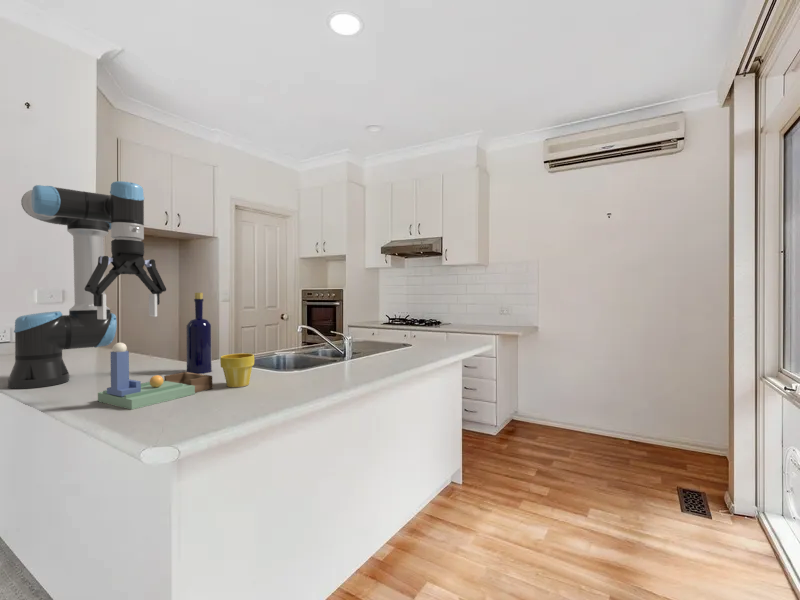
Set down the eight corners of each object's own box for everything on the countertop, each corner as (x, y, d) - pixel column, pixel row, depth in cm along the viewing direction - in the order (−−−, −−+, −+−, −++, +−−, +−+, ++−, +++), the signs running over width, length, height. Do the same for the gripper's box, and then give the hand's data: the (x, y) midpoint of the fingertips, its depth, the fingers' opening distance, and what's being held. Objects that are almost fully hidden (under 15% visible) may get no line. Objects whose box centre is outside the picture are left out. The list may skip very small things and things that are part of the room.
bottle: (205, 374, 151) (204, 292, 150) (180, 374, 151) (180, 292, 151) (217, 369, 160) (216, 292, 160) (193, 369, 160) (193, 292, 160)
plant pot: (213, 386, 131) (213, 356, 131) (239, 380, 140) (239, 352, 140) (235, 390, 127) (235, 359, 126) (261, 384, 136) (261, 354, 135)
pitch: (97, 401, 113) (97, 389, 113) (161, 388, 129) (161, 377, 129) (131, 409, 106) (131, 396, 106) (194, 394, 122) (194, 383, 122)
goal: (164, 388, 129) (164, 375, 129) (185, 384, 135) (185, 371, 135) (191, 393, 123) (191, 380, 123) (212, 388, 129) (212, 375, 129)
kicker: (106, 393, 111) (105, 342, 111) (127, 389, 116) (126, 340, 116) (121, 396, 108) (120, 344, 108) (141, 392, 113) (141, 341, 112)
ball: (147, 387, 119) (146, 375, 119) (158, 385, 122) (158, 373, 122) (154, 389, 118) (154, 377, 117) (166, 386, 121) (166, 374, 121)
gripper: (84, 233, 99) (85, 321, 100) (179, 244, 122) (179, 315, 122) (67, 235, 103) (68, 320, 103) (162, 245, 125) (163, 315, 125)
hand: (128, 317), depth 113 cm, fingers open, 13 cm apart
